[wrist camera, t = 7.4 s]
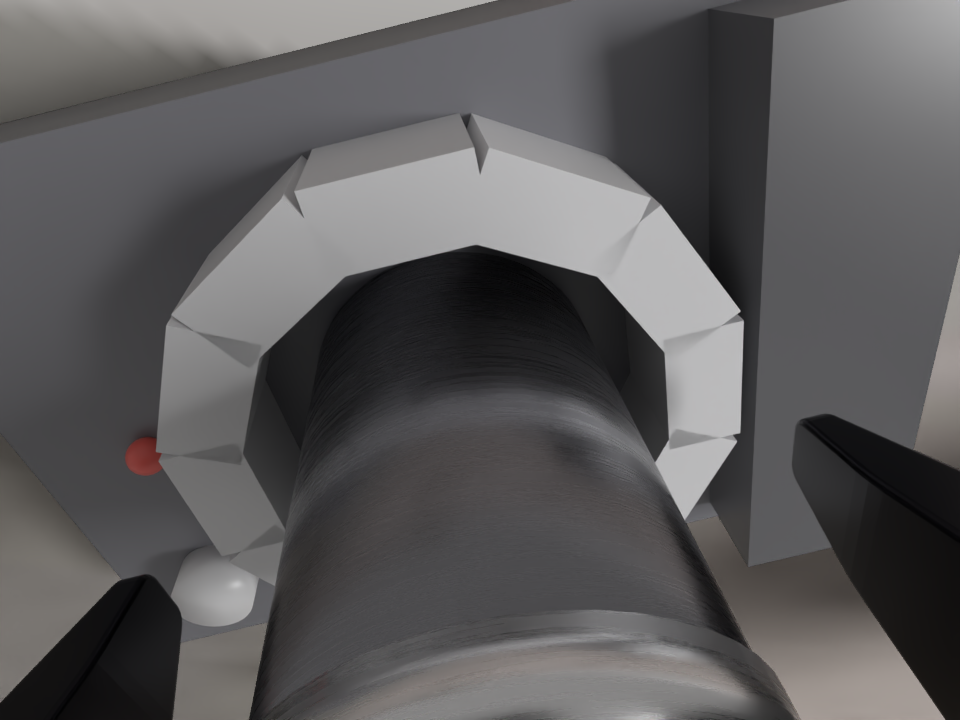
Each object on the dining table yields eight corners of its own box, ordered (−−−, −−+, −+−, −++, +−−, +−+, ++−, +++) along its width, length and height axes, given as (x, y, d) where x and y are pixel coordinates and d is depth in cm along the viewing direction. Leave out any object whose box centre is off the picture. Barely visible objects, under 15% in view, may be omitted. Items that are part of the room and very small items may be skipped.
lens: (578, 212, 10) (1178, 1047, 2) (607, 449, 13) (923, 1181, 5) (265, 287, 10) (-147, 1333, 2) (363, 506, 13) (316, 1310, 5)
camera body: (814, -79, 11) (1077, -104, 7) (779, 407, 17) (905, 554, 13) (-66, 140, 11) (-342, 248, 7) (206, 544, 17) (147, 731, 13)
